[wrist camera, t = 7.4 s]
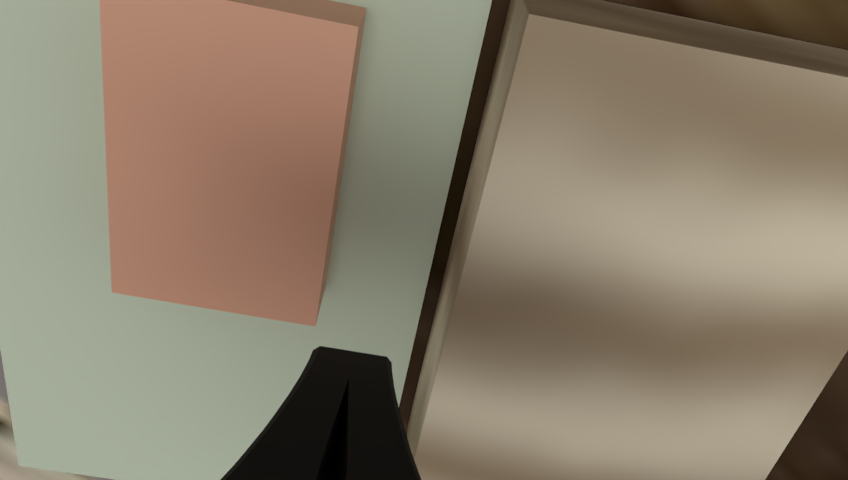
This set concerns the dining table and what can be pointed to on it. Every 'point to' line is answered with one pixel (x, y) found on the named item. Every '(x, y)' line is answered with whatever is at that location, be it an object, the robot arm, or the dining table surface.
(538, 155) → the deck
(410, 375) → the dining table surface
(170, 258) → the tile
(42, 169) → the mat
